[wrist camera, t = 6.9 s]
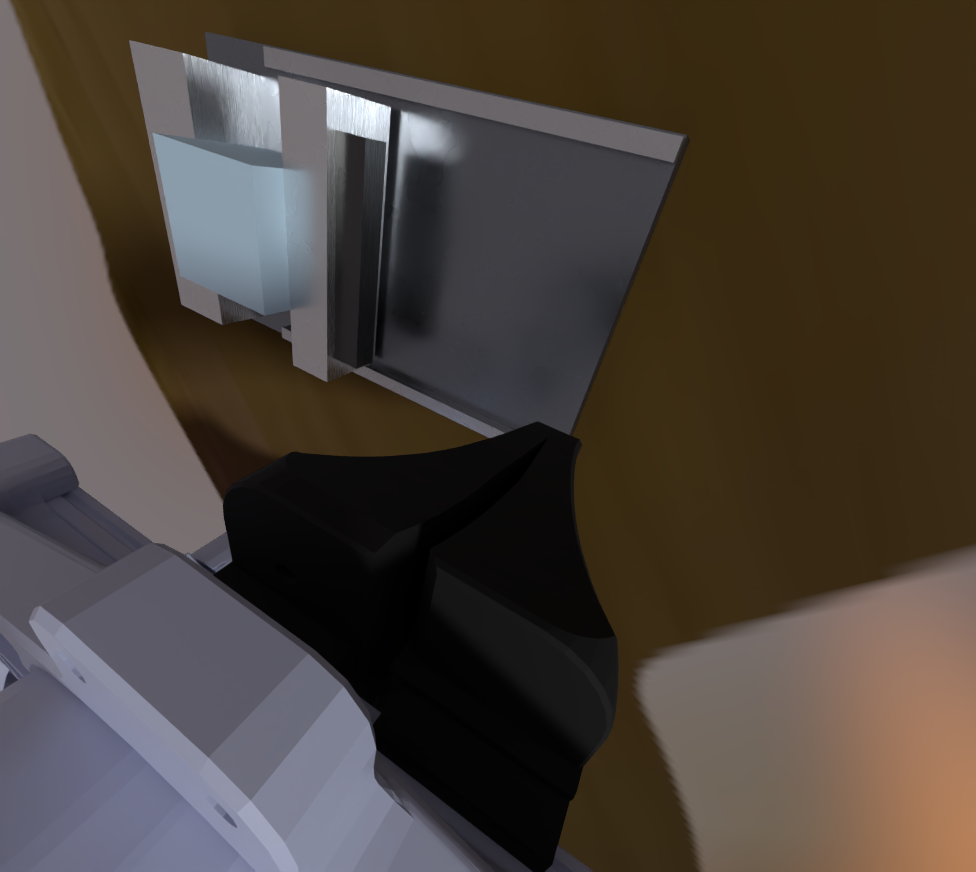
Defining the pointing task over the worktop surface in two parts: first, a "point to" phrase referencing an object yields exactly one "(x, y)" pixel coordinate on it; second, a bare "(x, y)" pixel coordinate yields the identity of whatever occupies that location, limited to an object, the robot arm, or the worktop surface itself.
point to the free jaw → (333, 223)
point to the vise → (454, 224)
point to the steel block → (227, 218)
